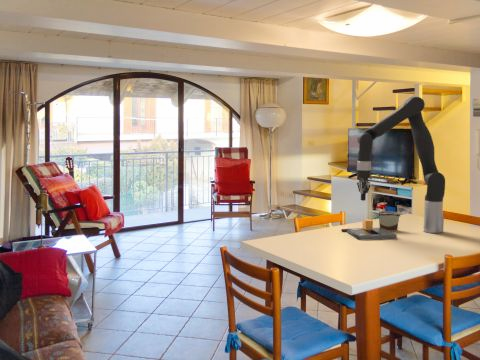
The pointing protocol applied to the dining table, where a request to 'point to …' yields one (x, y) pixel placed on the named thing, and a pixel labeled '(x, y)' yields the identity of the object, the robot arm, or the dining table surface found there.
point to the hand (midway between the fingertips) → (363, 200)
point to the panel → (373, 234)
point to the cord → (352, 234)
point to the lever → (367, 225)
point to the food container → (389, 220)
